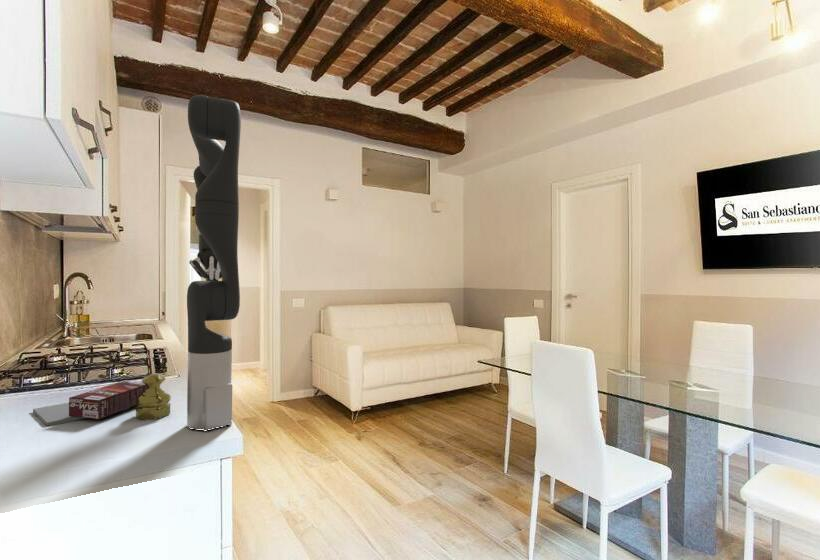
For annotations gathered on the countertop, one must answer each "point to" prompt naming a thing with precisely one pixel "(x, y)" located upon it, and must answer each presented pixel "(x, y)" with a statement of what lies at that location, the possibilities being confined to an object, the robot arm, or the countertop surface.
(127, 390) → the supplement box
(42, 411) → the rubber mat
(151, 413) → the brass knobbed piece
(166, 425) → the countertop surface
